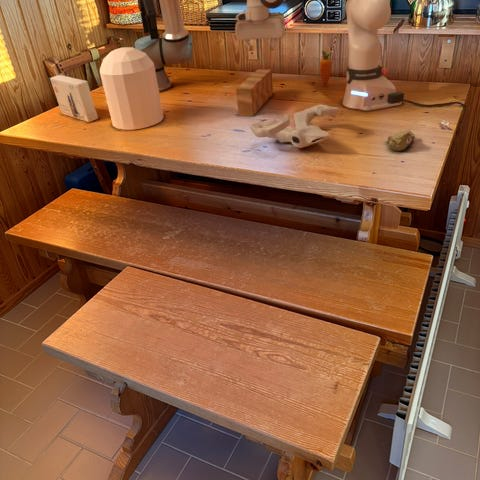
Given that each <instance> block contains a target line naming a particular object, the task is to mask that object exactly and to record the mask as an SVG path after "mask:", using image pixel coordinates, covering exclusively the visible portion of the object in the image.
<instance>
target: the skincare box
mask: <svg viewBox="0 0 480 480" xmlns="http://www.w3.org/2000/svg"><path fill="white" fill-rule="evenodd" d="M49 80H50V83H51V86H52V89H53V91H54V95H55V98H56V100H57V103H58V106H59V109H60V112H61V114H62V115H65V116H68V117H71V118H73V119H78V120H81V121H84V122H87V123H91V122H94V121H96V120H98V119H99V116H98V112H97V110H96V107H95V103H94V102H95V101H94V99H93V96H92V93H91V89H90V86H89V82H88V80H84V79H79V78H76V77H71V76H67V75H63V74H57V75H55V76H52V77H49Z"/></svg>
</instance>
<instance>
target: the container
mask: <svg viewBox="0 0 480 480" xmlns="http://www.w3.org/2000/svg"><path fill="white" fill-rule="evenodd" d="M99 76H100V79H101V84H102V87H103V91H104V95H105V100H106V103H107V107H108V111H109V115H110V119H111V123H112V124H111V125H112V126H113V127H114V128H116V129H118V130H124V131H128V130H130V131H131V130H139V129H140V130H141V129H146V128H149V127H152V126H155V125H157V124H159V123H160V122H162V120H163V119H164V111H163V107H162V106H163V105H162V100H161V95H160V92H159V89H158V84H157V78H156V73H155V67H154V63H153V61H152V60H151V59H150V58H149V57H148V56H147V54H146V53H144V52H142V51H140V50H137V49H135V47H134V46H133V47H131V46H130V47H129V46H128V47H127V46H125V47H119V48H115V49H113V50H111V51H110V52H109V53H108V54H107V55H106V56H104V58H103V59H102V62H101V65H100V67H99Z"/></svg>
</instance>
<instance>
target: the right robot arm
mask: <svg viewBox="0 0 480 480" xmlns="http://www.w3.org/2000/svg"><path fill="white" fill-rule="evenodd" d="M284 2H286V0H246V9H245V10H243V11H242V12H239V13H237V14H236V16H235V20H236V22H235V27H234V30H235V38H236V40H237V41H244V43H245V45H246V46H247V50H248V52H253V51H254V46H253V45H252V44H251V43H250V42H251V40H269V39H271V41H272V44H271V45H270V46H269V48H270V51H275V50H276V44H277V42H278V39H283V38H284V37H285V36H286V26H285V21H286V20H285V18H286V17H285V15H284V13H282V12H281V11H277V12H275V11H274V12H271V11H270V10H273V9H277V8H279V7H280V6H281V5H283V4H284ZM344 8H345V9H344V10H345V13H346V14H345V15H346V25H347V37H348V62H347V63H348V65H347V67H346V72H345V73H346V74H345V77H346V78H345V81H346V87H345V91H344V96H343V99H342V102H341V103H342V106H343V107H346V108H349V109H355V110H361V111H364V112H369V111H375V110H380V109H385V108H391V107H397V106H401V105H402V103H403V102H404V103H409V104H412V105H415V106H419V107H426V108H427V107H438V106H439V107H441V106H448V105H454V104H455V105H460V106H462V107H463V108H466V107H467V106H466V105H465V104H464V103H462V102H460V101H449V102H444V103H433V104H424V103H419V102H414V101H412V100H408V99H404V97H405V93H404V92H402V91H397V89H396V86H395V84H394V83H393V82H392V81H391V80H389V79H388V78H387V77H385V76H384V75H386V74H387V73H388V69H387V68H386V67H383V66H381V65H379V63H380V62H379V60H380V49H381V43H380V39H379V32H378V30H381V29H382V28H384V27H385V26H386V25H387V24H388V22H389V20H390V19H391V14H392V8H391V0H346V2H345V7H344Z"/></svg>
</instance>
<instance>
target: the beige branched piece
mask: <svg viewBox="0 0 480 480" xmlns="http://www.w3.org/2000/svg"><path fill="white" fill-rule="evenodd" d="M340 111H341V110H340V108H339V107H337V106H329V105H325V104H317V105H314V106H311V107H308V108H306V109H303V110H299V111H297V112H294V114H293V123H294V126H295V128H294V129H293V128H290V126H291V117H290V115H289V114H285V115H284V116H283V118H282V119H280V121H278V120H276V119H269V120H264V121H259V122H254V123H251V124H250V131H251V133H253V135H254V136H256V137H257V138H269V139H276V140H277V141H279V142H280V143H291V144H292V146H293V147H295V148H297V149H303V148H307V147H310V146H314V145H316V144H319V143H321V142H323V141H326V140H329V138H330V134H329V132H328V131H326V130H322V129H321V128H320V127H318V126H317V125H314V124H311V122H312V120H313V119H314V118H315V117H316V118H325V117H331V118H335V119H336V118H337V117H338V115H339V113H340Z"/></svg>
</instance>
